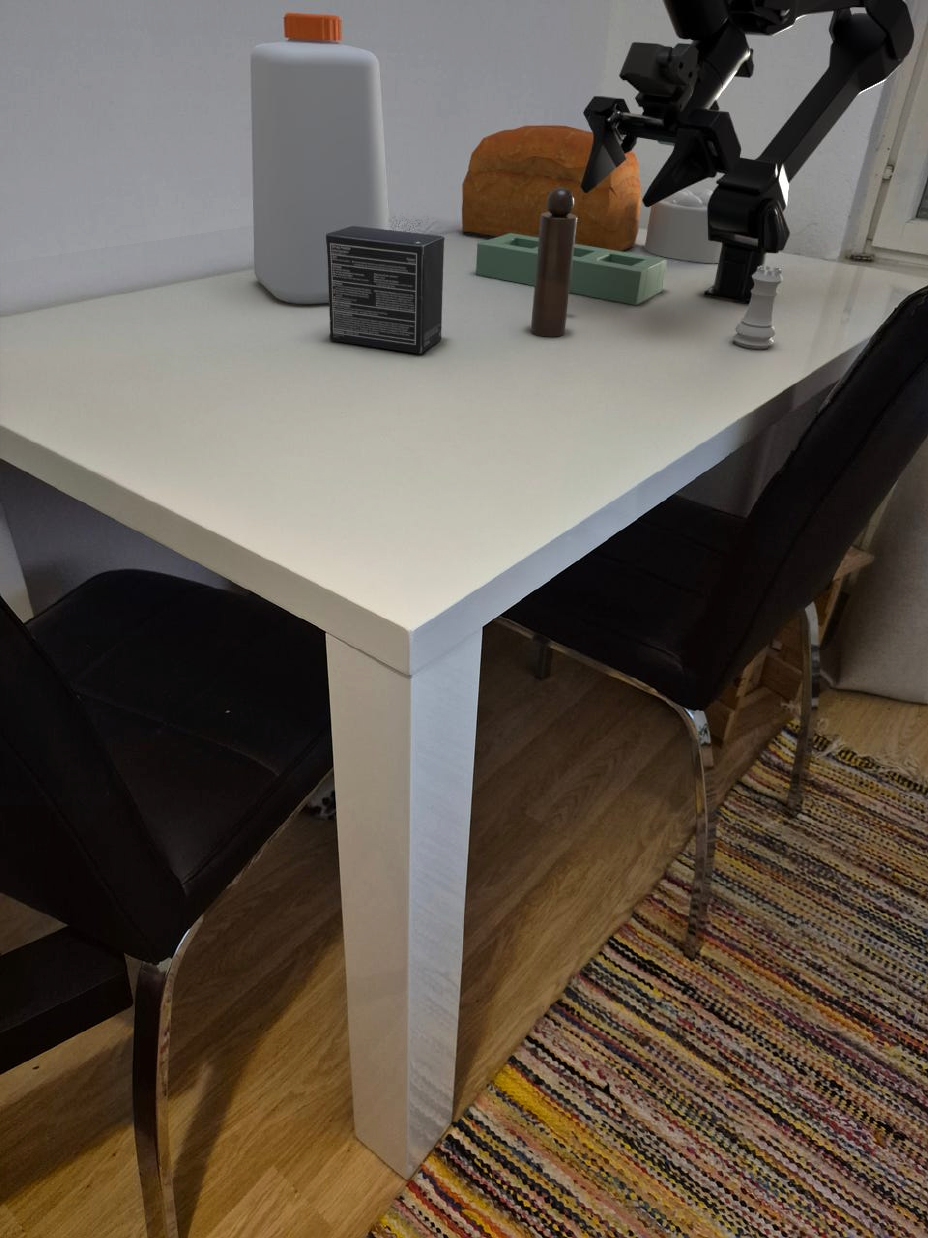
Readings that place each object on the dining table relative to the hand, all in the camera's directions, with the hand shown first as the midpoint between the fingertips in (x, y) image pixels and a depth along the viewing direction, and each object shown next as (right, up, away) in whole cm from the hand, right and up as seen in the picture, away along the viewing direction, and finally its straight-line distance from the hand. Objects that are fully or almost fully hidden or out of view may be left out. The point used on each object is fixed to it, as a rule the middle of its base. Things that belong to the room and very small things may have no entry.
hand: (612, 196), depth 94 cm
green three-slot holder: (-2, -1, +22) cm, 23 cm away
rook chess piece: (+16, -15, +3) cm, 22 cm away
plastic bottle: (-33, -5, +14) cm, 37 cm away
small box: (-24, -16, -2) cm, 29 cm away
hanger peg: (-7, -13, +3) cm, 15 cm away
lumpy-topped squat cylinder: (+18, +11, +42) cm, 47 cm away
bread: (-3, +15, +46) cm, 48 cm away
